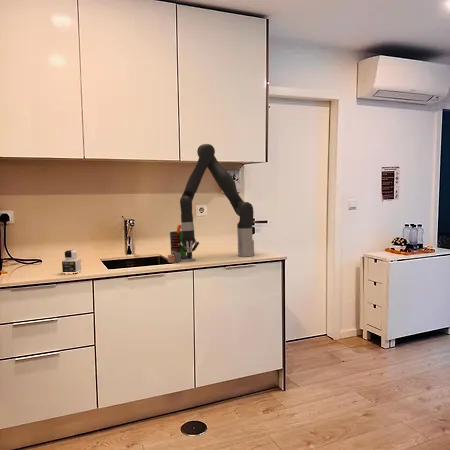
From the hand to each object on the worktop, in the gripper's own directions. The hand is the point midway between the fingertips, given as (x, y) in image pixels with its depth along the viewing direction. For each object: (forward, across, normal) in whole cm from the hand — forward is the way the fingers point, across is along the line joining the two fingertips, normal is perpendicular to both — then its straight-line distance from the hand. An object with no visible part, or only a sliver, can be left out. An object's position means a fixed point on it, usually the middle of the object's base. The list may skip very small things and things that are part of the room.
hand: (189, 258), depth 247 cm
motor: (+1, +3, -17) cm, 17 cm away
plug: (+1, +7, 0) cm, 7 cm away
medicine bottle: (0, +66, +8) cm, 66 cm away
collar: (+1, +3, 0) cm, 4 cm away
